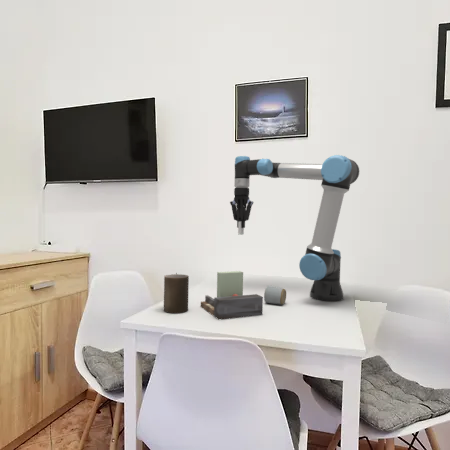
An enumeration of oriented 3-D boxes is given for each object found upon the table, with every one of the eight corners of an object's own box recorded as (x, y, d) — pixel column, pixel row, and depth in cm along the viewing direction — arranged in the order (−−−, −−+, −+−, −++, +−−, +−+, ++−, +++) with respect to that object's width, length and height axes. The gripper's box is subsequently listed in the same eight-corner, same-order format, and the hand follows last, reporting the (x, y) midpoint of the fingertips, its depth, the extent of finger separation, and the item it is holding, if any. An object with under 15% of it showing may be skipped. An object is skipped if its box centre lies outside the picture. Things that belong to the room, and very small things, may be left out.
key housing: (200, 306, 150) (200, 288, 150) (239, 303, 157) (240, 285, 157) (219, 319, 131) (219, 299, 131) (262, 315, 139) (262, 295, 138)
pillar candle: (186, 313, 138) (187, 274, 138) (161, 313, 138) (162, 274, 138) (189, 307, 148) (190, 271, 148) (165, 307, 148) (166, 270, 148)
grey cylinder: (281, 306, 152) (282, 288, 152) (263, 304, 155) (264, 286, 155) (288, 302, 161) (289, 284, 161) (271, 299, 165) (271, 283, 165)
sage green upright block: (216, 304, 144) (217, 272, 144) (239, 302, 148) (239, 271, 148) (219, 306, 141) (220, 273, 141) (242, 304, 145) (243, 272, 145)
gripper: (226, 187, 182) (226, 234, 183) (248, 186, 175) (247, 235, 175) (235, 188, 189) (234, 233, 189) (256, 187, 181) (255, 234, 181)
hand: (240, 234), depth 182 cm, fingers closed
